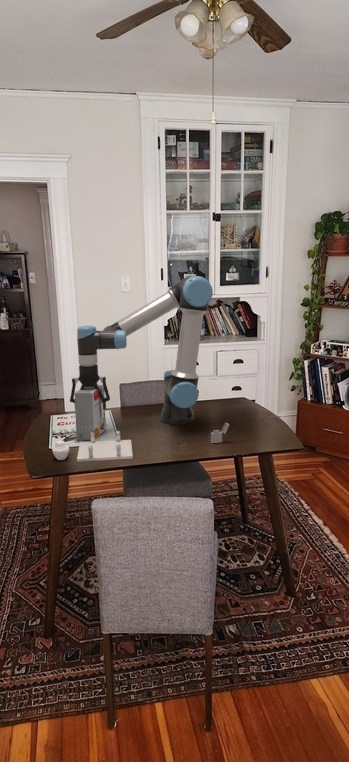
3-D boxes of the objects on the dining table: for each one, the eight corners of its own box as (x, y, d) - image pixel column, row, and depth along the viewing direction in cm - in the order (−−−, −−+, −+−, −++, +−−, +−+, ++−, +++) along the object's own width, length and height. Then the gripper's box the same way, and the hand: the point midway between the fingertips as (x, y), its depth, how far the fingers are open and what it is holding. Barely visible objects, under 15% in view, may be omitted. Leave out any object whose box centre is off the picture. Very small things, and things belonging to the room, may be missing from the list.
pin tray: (131, 442, 196) (130, 430, 194) (132, 458, 179) (132, 445, 177) (80, 444, 193) (79, 432, 192) (77, 461, 176) (76, 448, 175)
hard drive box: (94, 441, 197) (91, 393, 192) (76, 440, 198) (73, 392, 193) (106, 429, 211) (104, 384, 207) (89, 428, 213) (87, 383, 208)
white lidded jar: (49, 460, 178) (48, 442, 176) (59, 454, 183) (57, 436, 182) (64, 462, 176) (62, 444, 174) (73, 456, 181) (72, 438, 180)
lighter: (212, 444, 192) (212, 424, 191) (210, 442, 194) (210, 423, 192) (229, 442, 194) (229, 423, 192) (227, 441, 196) (228, 422, 194)
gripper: (115, 361, 203) (117, 413, 208) (62, 363, 200) (65, 416, 205) (115, 365, 195) (117, 419, 201) (60, 367, 193) (63, 421, 198)
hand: (91, 417), depth 203 cm, fingers closed on hard drive box, 9 cm apart
